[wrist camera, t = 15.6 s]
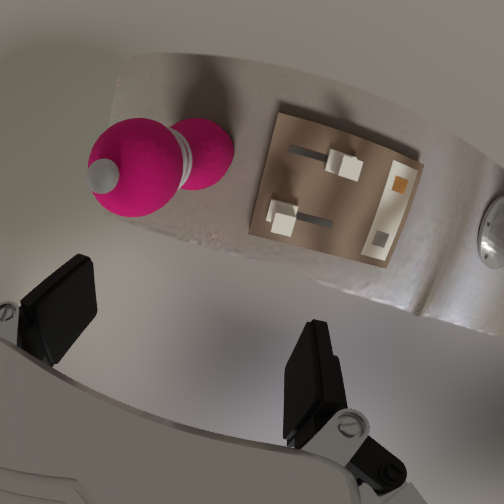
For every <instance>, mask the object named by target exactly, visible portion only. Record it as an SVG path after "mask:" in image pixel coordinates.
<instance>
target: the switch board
mask: <svg viewBox="0 0 504 504" xmlns="http://www.w3.org/2000/svg"><path fill="white" fill-rule="evenodd" d="M330 149H333V150H336V151H339V152H342V153H345V154H348V155H351V156H354V157H356V158H357V160H360V161H362V162H363V165H362V169H361V172H360V175H359V178H358V182H357V181H354V180H351V179H348V178H345V177H342V176H339V175H337V174H335V173H332V172H328V171H325V170H324V168H325V164H326V161H327V157H328V154H329V150H330ZM423 168H424V165H423V164H421V163H419V162H417V161H415V160H413V159H411V158H408V157H406V156H404V155H402V154H400V153H397V152H395V151H393V150H390V149H388V148H386V147H383V146H381V145H378V144H376V143H373V142H371V141H368V140H365V139H363V138H360V137H357V136H355V135H352V134H349V133H346V132H343V131H340V130H337V129H334V128H331V127H328V126H325V125H322V124H318V123H315V122H312V121H308V120H305V119H301V118H298V117H294V116H290V115H286V114H282V113H278V115H277V119H276V123H275V127H274V131H273V135H272V139H271V143H270V147H269V151H268V155H267V159H266V163H265V167H264V171H263V175H262V180H261V184H260V188H259V192H258V196H257V200H256V204H255V208H254V212H253V216H252V220H251V225H250V229H249V233H248V234H250V235H254V236H259V237H263V238H267V239H271V240H275V241H279V242H283V243H287V244H291V245H295V246H300V247H304V248H308V249H312V250H316V251H320V252H324V253H327V254H331V255H335V256H339V257H343V258H347V259H351V260H355V261H359V262H363V263H366V264H370V265H374V266H378V267H382V268H386V267H387V265H388V263H389V261H390V258H391V256H392V254H393V251H394V249H395V247H396V244H397V242H398V239H399V237H400V234H401V232H402V229H403V227H404V224H405V221H406V219H407V216H408V213H409V210H410V208H411V205H412V202H413V199H414V196H415V193H416V190H417V187H418V184H419V181H420V178H421V174H422V171H423ZM271 199H275V200H279V201H283V202H287V203H290V204H294V205H298V210H297V213H296V221H295V224H294V227H293V231H292V234H291V237H289V236H285V235H281V234H277V233H273V232H271V222H269V221H266V217H267V213H268V209H269V205H270V201H271Z"/></svg>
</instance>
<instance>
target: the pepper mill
mask: <svg viewBox="0 0 504 504" xmlns="http://www.w3.org/2000/svg"><path fill="white" fill-rule="evenodd" d="M233 156H234V146H233V142H232V140H231V138H230V136H229V135H228V134H227V132H226V131H224V130H223V129H222V128H221V127H220V126H219V125H217V124H216V123H214V122H212V121H210V120H207V119H203V118H191V119H185V120H182V121H180V122H178V123H176V124H174V125H173V126H171V127H170V128H168V127H165V126H164V125H162V124H161V123H159V122H157V121H154V120H150V119H145V118H133V119H127V120H124V121H121V122H118V123H116V124H114V125H113V126H111V127H109V128H108V129H107V130H106V131H105V132H104V133H103V134H102V135H100V137H99V138H98V140H97V141H96V142H95V144H94V146H93V148H92V151H91V154H90V157H89V162H88V170H87V173H86V182H87V185H88V187H89V188H90V189H91V190H92V192H93V194H94V195H95V197H96V199H97V200H98V201H99V203H100V204H101V205H102V206H103V207H105V208H106V209H107V210H109V211H110V212H113V213H115V214H117V215H120V216H125V217H140V216H144V215H148V214H151V213H153V212H155V211H156V210H158V209H160V208H162V207H163V206H164V205H165V204H166V203H168V202H169V200H170V199H171V198H172V197H173V196H174V194H175V193H176V191H177V190H178V189H179V188H181V189H186V190H199V189H204V188H207V187H209V186H212V185H213V184H215V183H216V182H218V181H219V180H220V179H221V178H222V177H223V176H224V174H225V173H226V171H227V170H228V168H229V166H230V165H231V163H232V160H233Z"/></svg>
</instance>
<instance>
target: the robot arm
mask: <svg viewBox="0 0 504 504" xmlns="http://www.w3.org/2000/svg"><path fill="white" fill-rule="evenodd" d="M478 251H479V256H480V258H481V260H482V262H483V263H484V264H485V265H486V266H487V267H488V268H491V269H499V268H501V267H503V268H504V195H501V196H499V197H498V198H496V199H495V200H494V201H493V202H492V203H491V205H490V206H489V208H488V209H487V211H486V213H485V215H484V217H483V220H482V223H481V226H480V230H479V236H478ZM20 302H21V306H20V307H18V305H17V304H16V303H15V302H12V301H4V302H1V303H0V504H427V503H426V501H424V499H423V498H422V496H421V495H420V494H419V492H418V491H417V489H416V488H415V487H414V485H413V484H412V483H411V482H410V483H407V482H406V477H407V471H406V467H405V466H404V464H403V463H402V462H401V461H400V460H399V459H398V458H397V457H395V456H394V455H392V454H391V453H390V452H388V450H386V449H385V448H384V447H382V446H381V445H380V444H379V443H377V442H376V441H375V440H374V439H372V438H371V437H370V436H369V435H368V434H369V430H370V426H369V422H368V420H367V419H366V417H365V416H364V415H363V414H362V413H361V412H359V411H357V410H354V409H348V407H347V401H346V395H345V389H344V383H343V378H342V372H341V367H340V362H339V358H338V357H337V356H335V355H333V351H332V346H331V341H330V335H329V330H328V325H327V322H324V321H319V320H315V319H313V320H312V321H311V322H307V323H306V325H305V327H304V329H303V331H302V333H301V335H300V338H299V340H298V342H297V344H296V346H295V348H294V350H293V352H292V354H291V356H290V358H289V360H288V362H287V364H286V367H285V373H284V374H285V375H284V376H285V378H284V419H283V438H284V439H287V446H288V447H285V446H279V445H274V444H269V443H263V442H256V441H251V440H246V439H241V438H236V437H232V436H227V435H223V434H219V433H214V432H210V431H206V430H202V429H198V428H194V427H191V426H187V425H184V424H181V423H178V422H174V421H171V420H168V419H165V418H162V417H159V416H156V415H153V414H151V413H148V412H145V411H142V410H140V409H137V408H135V407H131V406H129V405H127V404H124V403H122V402H120V401H117V400H115V399H113V398H110V397H108V396H106V395H104V394H101V393H100V392H97V391H95V390H93V389H91V388H89V387H87V386H85V385H83V384H81V383H79V382H77V381H75V380H73V379H71V378H69V377H68V376H66V375H64V374H62V373H61V372H59V371H57V370H55V369H54V368H52V367H53V365H54V364H57V363H59V361H60V360H61V359H62V357H63V356H64V355H65V353H66V352H67V351H68V350H69V348H70V347H71V346H72V344H73V343H74V342H75V341H76V339H77V338H78V337H79V336H80V334H81V333H82V332H83V331H84V329H85V328H86V327H87V326H88V325H89V323H90V322H91V321H92V320H93V319H94V317H95V316H96V314H97V302H96V292H95V283H94V268H93V262H92V261H91V259H90V258H89V257H87V256H84V255H82V254H77V255H75V256H74V257H73V258H71V259H70V260H69V261H68V262H66V263H65V264H64V265H62V266H61V267H60V268H59V269H57V270H56V271H55V272H54V273H52V274H51V275H50V276H49V277H47V278H46V279H45V280H44V281H43V282H41V283H40V284H39V285H38V286H37V287H35V288H34V289H33V290H32V291H31V292H30V293H28V294H27V295H26V296H25V297H24V298H23V299H22V300H21V301H20ZM291 447H295V448H291Z"/></svg>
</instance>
